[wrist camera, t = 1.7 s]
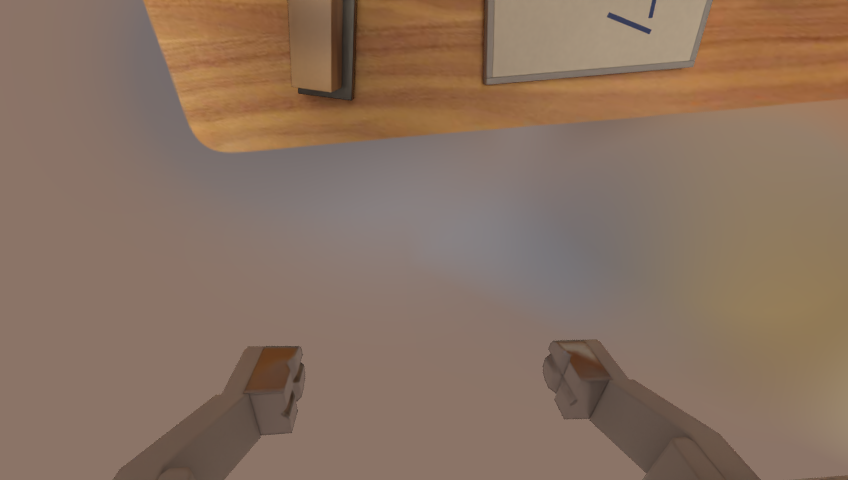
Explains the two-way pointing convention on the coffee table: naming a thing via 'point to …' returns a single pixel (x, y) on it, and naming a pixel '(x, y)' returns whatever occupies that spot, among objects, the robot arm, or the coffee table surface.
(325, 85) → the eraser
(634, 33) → the whiteboard
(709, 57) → the coffee table surface
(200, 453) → the robot arm
